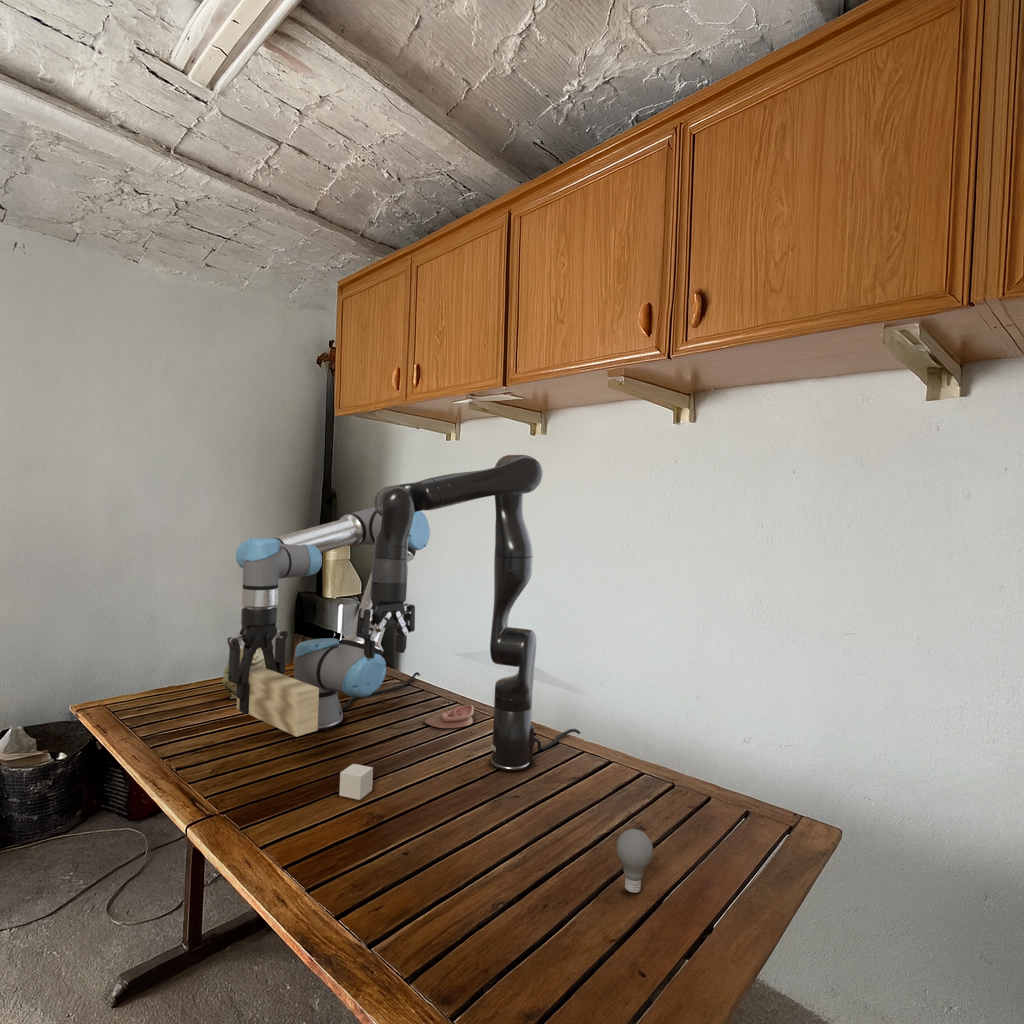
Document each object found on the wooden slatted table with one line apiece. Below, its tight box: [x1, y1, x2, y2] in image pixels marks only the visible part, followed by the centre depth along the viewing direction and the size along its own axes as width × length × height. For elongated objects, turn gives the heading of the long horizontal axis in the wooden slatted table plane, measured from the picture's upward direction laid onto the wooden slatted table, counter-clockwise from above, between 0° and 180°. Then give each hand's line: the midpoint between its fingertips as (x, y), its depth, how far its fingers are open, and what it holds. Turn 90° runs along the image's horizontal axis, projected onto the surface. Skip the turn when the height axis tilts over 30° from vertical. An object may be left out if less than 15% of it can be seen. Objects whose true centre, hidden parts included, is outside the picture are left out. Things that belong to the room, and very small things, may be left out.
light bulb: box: [615, 828, 654, 894], centre depth 106 cm, size 6×6×10 cm
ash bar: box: [236, 665, 319, 738], centre depth 138 cm, size 24×5×9 cm, turn 51°
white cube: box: [338, 763, 374, 801], centre depth 136 cm, size 5×5×5 cm
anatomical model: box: [424, 704, 475, 729], centre depth 181 cm, size 13×4×12 cm
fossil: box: [222, 646, 266, 699], centre depth 198 cm, size 9×18×15 cm, turn 132°
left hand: (256, 708), depth 143 cm, fingers closed on ash bar, 5 cm apart
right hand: (385, 655), depth 135 cm, fingers open, 8 cm apart
